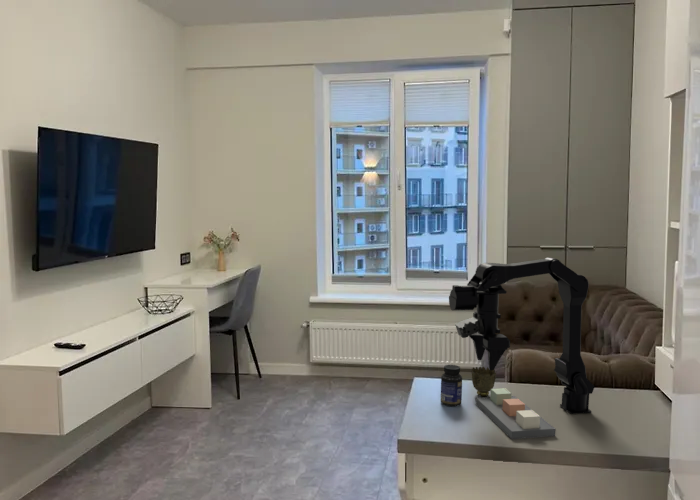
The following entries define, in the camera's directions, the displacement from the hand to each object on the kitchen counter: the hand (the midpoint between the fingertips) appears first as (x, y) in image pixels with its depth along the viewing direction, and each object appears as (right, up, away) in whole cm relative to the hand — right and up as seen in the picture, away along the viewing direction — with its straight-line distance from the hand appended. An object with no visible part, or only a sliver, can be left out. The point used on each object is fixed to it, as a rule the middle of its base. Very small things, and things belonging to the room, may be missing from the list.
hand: (485, 364), depth 168 cm
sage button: (+6, -12, +7) cm, 15 cm away
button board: (+7, -15, -1) cm, 17 cm away
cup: (+3, -13, +18) cm, 22 cm away
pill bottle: (-8, -14, +11) cm, 19 cm away
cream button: (+9, -14, -9) cm, 19 cm away
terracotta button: (+7, -13, -1) cm, 15 cm away
